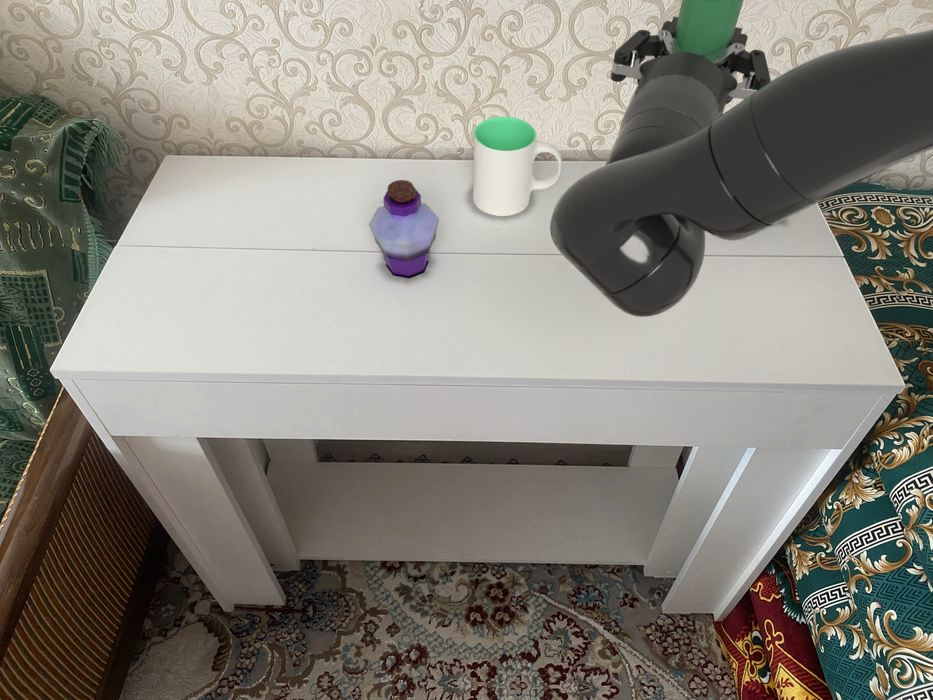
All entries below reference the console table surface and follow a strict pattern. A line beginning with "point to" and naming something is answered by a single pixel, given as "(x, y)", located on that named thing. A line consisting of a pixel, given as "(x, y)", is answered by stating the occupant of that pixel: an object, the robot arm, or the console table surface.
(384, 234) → the potion bottle
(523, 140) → the mug
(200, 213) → the console table surface
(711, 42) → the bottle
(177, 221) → the console table surface
